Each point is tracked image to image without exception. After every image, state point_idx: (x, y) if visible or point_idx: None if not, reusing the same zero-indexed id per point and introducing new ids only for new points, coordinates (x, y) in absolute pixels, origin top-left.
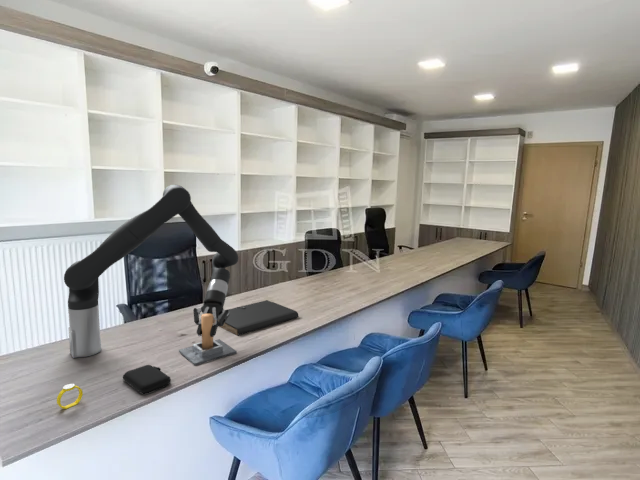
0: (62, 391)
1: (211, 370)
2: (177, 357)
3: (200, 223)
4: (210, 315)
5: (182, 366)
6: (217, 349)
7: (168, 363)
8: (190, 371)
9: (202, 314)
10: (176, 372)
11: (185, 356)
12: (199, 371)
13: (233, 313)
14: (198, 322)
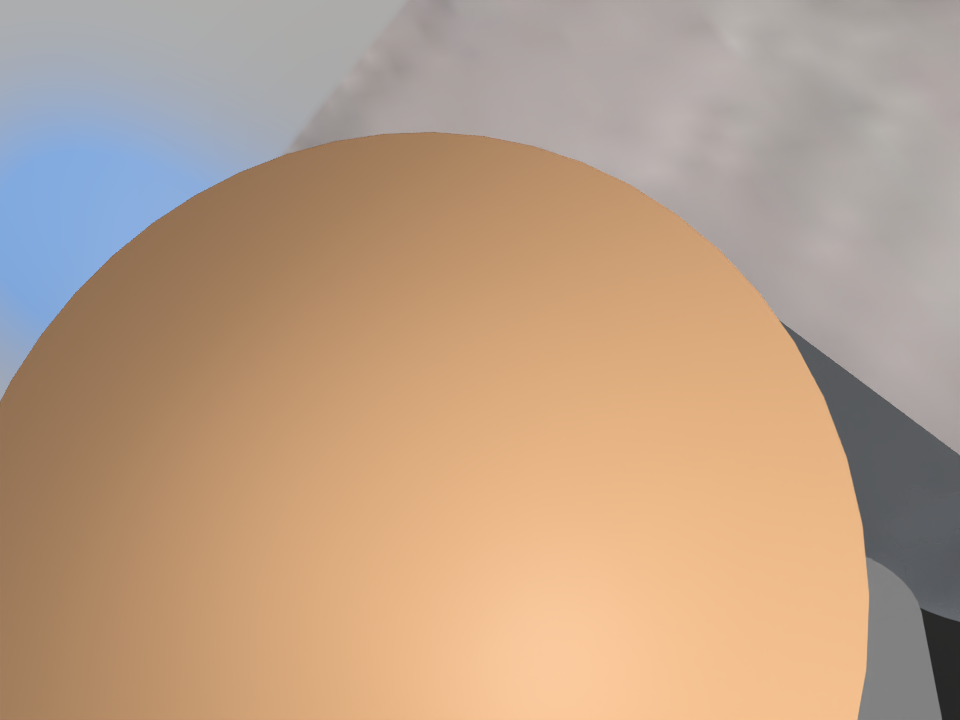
0: None
1: (325, 117)
2: (936, 349)
3: None
4: (91, 518)
5: (703, 131)
6: None
7: (941, 165)
8: (547, 53)
9: (856, 667)
10: (693, 3)
11: (811, 353)
12: (447, 73)
13: None
14: (953, 669)
